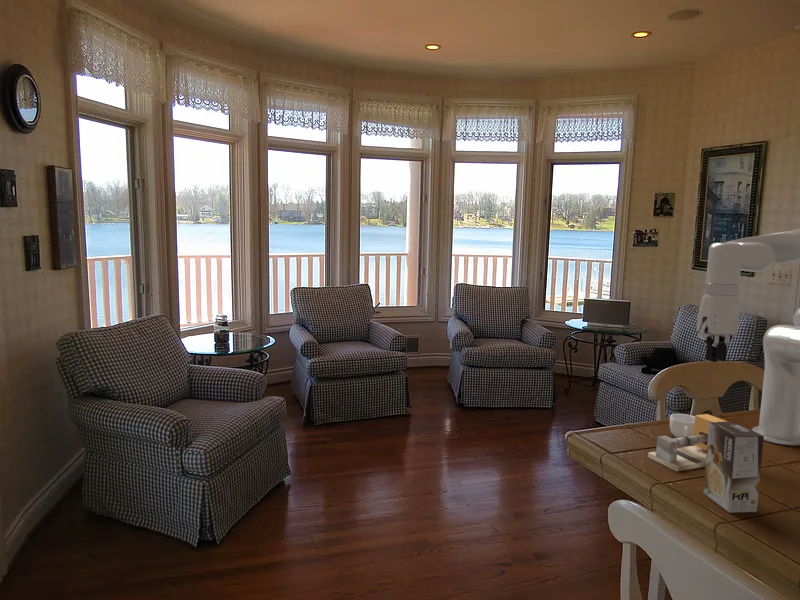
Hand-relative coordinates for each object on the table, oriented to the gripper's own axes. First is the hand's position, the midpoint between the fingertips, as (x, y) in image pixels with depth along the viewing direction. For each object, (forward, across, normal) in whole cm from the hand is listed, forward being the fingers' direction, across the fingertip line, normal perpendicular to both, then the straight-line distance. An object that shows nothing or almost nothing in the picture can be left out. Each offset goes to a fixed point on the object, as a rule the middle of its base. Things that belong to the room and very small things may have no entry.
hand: (715, 360), depth 149 cm
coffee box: (+23, +24, +26) cm, 42 cm away
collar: (+21, +7, +6) cm, 23 cm away
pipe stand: (+23, +12, +6) cm, 27 cm away
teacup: (+23, +2, -6) cm, 24 cm away
